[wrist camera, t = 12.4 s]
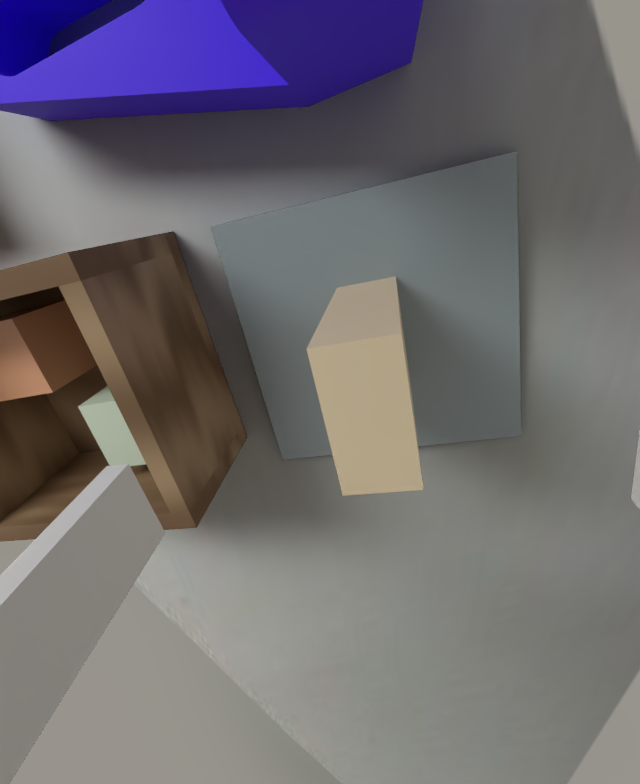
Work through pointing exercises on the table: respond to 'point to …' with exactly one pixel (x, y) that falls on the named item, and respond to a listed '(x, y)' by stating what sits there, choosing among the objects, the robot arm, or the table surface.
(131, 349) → the box
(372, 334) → the lid
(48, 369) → the terracotta cube
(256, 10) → the bracket
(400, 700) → the table surface
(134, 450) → the sage cube
